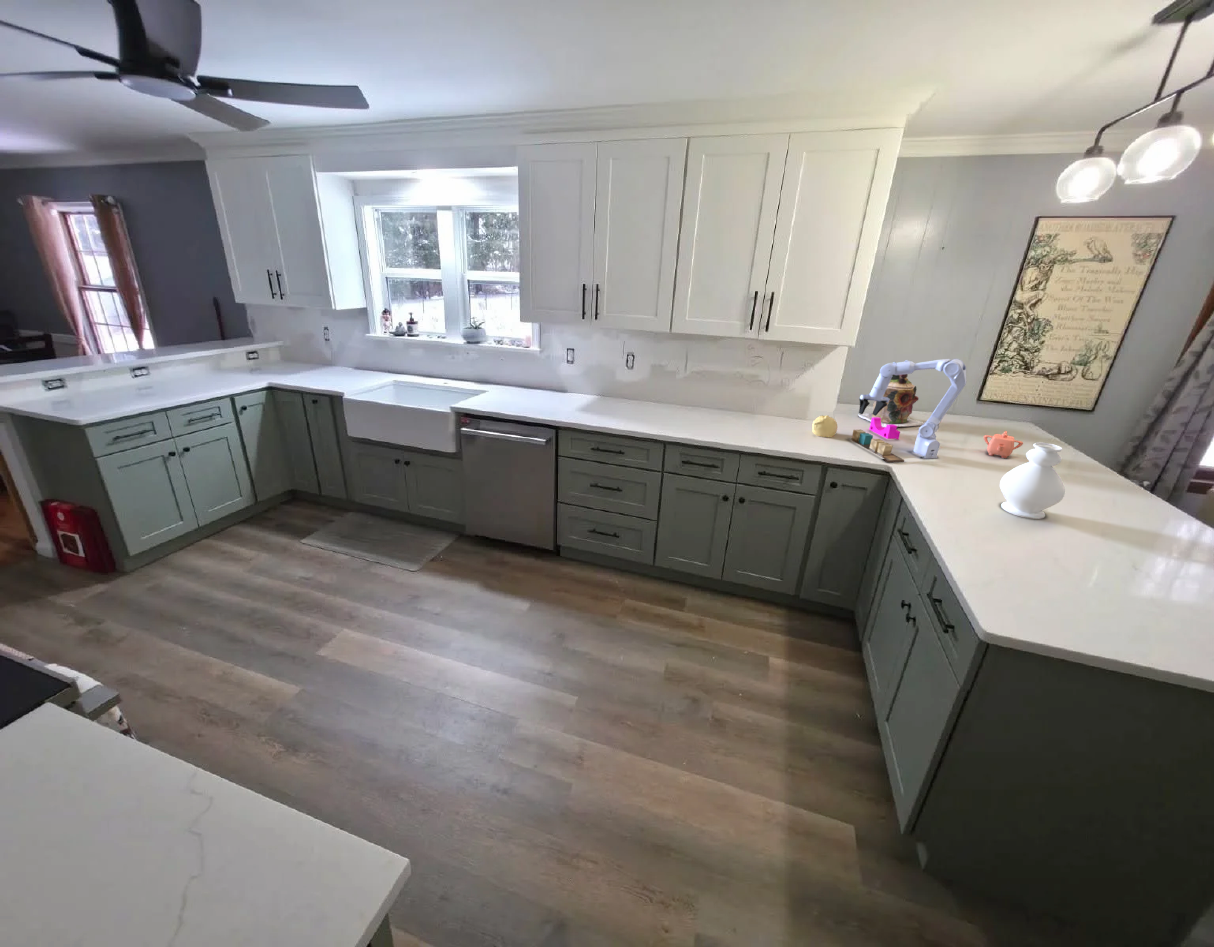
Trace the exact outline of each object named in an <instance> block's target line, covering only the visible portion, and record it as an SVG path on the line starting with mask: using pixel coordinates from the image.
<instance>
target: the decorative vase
mask: <svg viewBox="0 0 1214 947" xmlns="http://www.w3.org/2000/svg"><path fill="white" fill-rule="evenodd" d="M1032 446H1033V447H1034V448H1031V449H1029V450H1028V451H1027V452H1026V453H1025V457H1026V459H1027V460H1028V461H1027V462H1025V463H1023V464H1019V465H1017V466H1016V467H1014V468H1011V469H1010V470H1008V471H1007V472H1006V473H1005V474H1004V475H1003V476H1002V477H1001V478H1000V481H999V488H1000V491H1001V493H1002V496H1003V497H1004V499H1005V500H1006V501H1003V502H1001V505H1000V507H1001V509H1003V510H1004V511H1006V512H1007V513H1009V514H1011V515H1014V516H1018V517H1020V518H1025V519H1030V520H1031V519H1032V520H1042V519H1044V518H1045V517H1046V513H1045V512H1044V510H1047V509H1049V508H1051V507H1054V506H1056V505H1057V504H1059V503H1060V502H1061V501H1062V500H1063V499H1064V497H1065V494H1066V486H1065V483H1064V481H1063V479H1062V477H1061V476H1060V474H1059V473H1058V472H1057V470H1056V469H1055V468H1054V466H1056V465H1059V464H1061V462H1062V459H1063V458H1062V456H1061V455H1060V452H1062V450H1063V447H1061V446H1060V445H1056V444H1053V443H1049V442H1044V441H1043V442H1042V441H1037V442H1033V445H1032Z"/></svg>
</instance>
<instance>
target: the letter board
mask: <svg viewBox="0 0 1214 947" xmlns="http://www.w3.org/2000/svg"><path fill="white" fill-rule="evenodd" d="M860 433H867V432H866V431H865V430H863V429H859V428H858V429H853V431H852V435H851V437H847V439H848V440H850V441H852V442H853V443H855V444H857V445H859V446H861V447H862V448H864V449H866V450H868V451H869V452H872V453H873V454H875V455H877V456H879V457H880V458H881V460H882V461H884V462H885V463H887V464H892V463H904V462H905V459H904V458H901V457H900V456H898V455H896V454H894V453H892V450H893V448H894V447H893V446H894V445H893V444H891V443H889V442H886V441H884V440H883V439H881V438H872V440H871V444H868V445H863V444H861V443H859V437H860Z"/></svg>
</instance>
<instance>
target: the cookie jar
mask: <svg viewBox="0 0 1214 947" xmlns="http://www.w3.org/2000/svg"><path fill="white" fill-rule="evenodd" d="M908 375H909V374H903V375H892V378H891V380H890V383H889V385H888V387H887V389H886V391H885V393H884V395H883V397H888V398H889V399H890V400H889V402H888V403H887V402H886V403H887V406H885V407H884V408H883V409H882V410H881V411H880V412H879V413H878V414H877V415H876V416H875V415H873V414H872V413H873V411H874V408H875V406H876V401H873V404H872V413H871V412H867V413H865V412H864V413H863V414H860V413H858V414H857V417H858V418H861V419H864V420H867V421H868V422H870V423H871V419H872V417H879V418H881V425H882V427H886V426H887V425H892V424H894V425H896V426H897V428H898V427H900V428H906V427H916V426H920V427H921V426H922V425H923V424H924V423H925V421H922V420H916V419H912V418H910V417H909V416H910V415H912V414H913V406H914V404H915V403H916V402H918V401H919V397H918V396H917V394H916V393H917V386H916V385H914V384H913V383H912V382H911V381H910V380H909V378H908Z"/></svg>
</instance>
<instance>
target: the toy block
mask: <svg viewBox="0 0 1214 947" xmlns="http://www.w3.org/2000/svg"><path fill="white" fill-rule="evenodd" d="M897 428H898V427H897V426H896V425H894V424H892V425H887V426H886V427H882V425H881V418H879V417H872V419H871V422H870V423H869V428H868V430H870V432H873V433H876V434H877V435H879V436H881V437H883V438H885V439H886V440H890V439H891V440H897V441H898V440H899V439H900V434H901V431H899V430H898V429H897Z"/></svg>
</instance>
